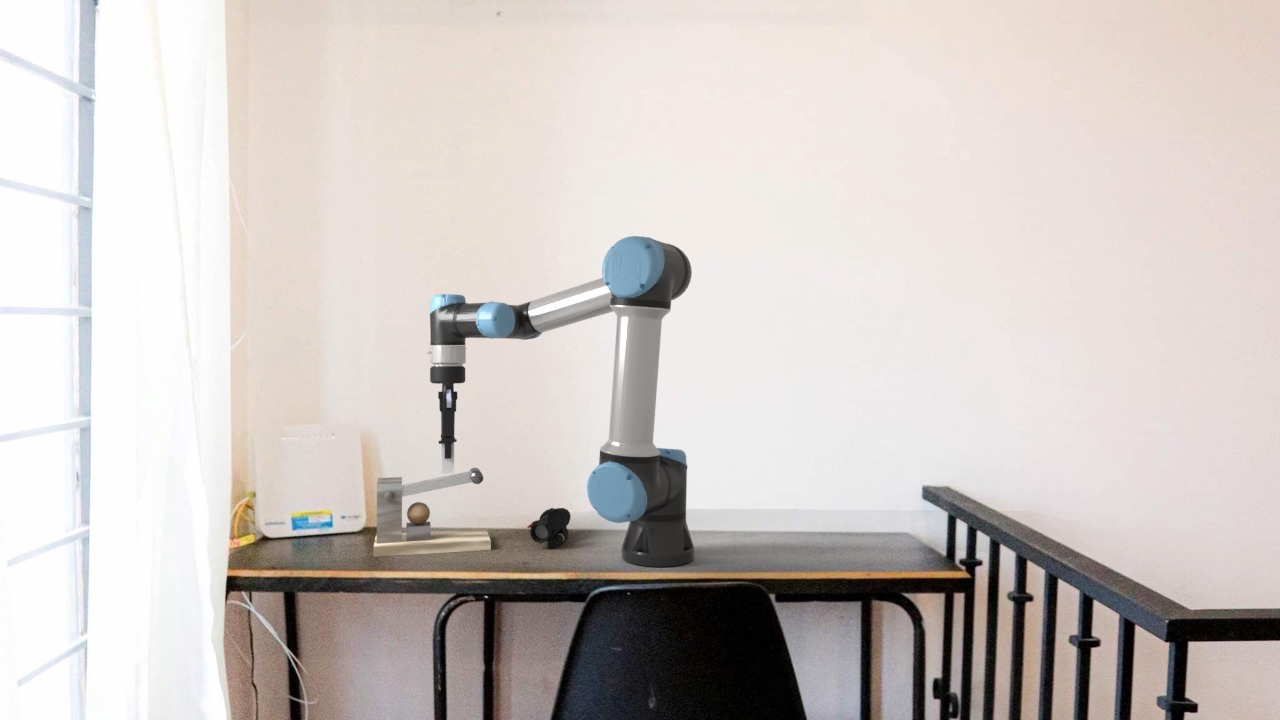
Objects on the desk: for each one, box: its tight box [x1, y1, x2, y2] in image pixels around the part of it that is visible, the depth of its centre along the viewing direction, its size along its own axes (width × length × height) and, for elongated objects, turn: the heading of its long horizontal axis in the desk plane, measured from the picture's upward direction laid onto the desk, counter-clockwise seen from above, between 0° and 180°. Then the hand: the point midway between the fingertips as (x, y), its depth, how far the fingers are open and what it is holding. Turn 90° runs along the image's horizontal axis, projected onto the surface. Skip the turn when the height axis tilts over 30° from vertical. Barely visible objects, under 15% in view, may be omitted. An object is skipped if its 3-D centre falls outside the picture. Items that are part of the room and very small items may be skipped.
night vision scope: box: [526, 507, 571, 550], centre depth 181 cm, size 8×18×10 cm
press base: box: [372, 476, 492, 558], centre depth 175 cm, size 12×24×15 cm, turn 106°
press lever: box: [402, 467, 484, 498], centre depth 175 cm, size 7×21×3 cm, turn 106°
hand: (447, 472), depth 176 cm, fingers closed
